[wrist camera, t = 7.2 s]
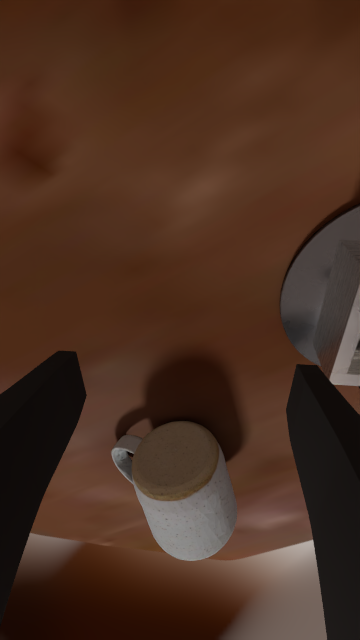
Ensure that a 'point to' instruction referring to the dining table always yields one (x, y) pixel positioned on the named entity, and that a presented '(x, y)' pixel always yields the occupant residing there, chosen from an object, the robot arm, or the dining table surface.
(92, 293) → the dining table surface
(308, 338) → the press
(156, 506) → the ceramic mug
